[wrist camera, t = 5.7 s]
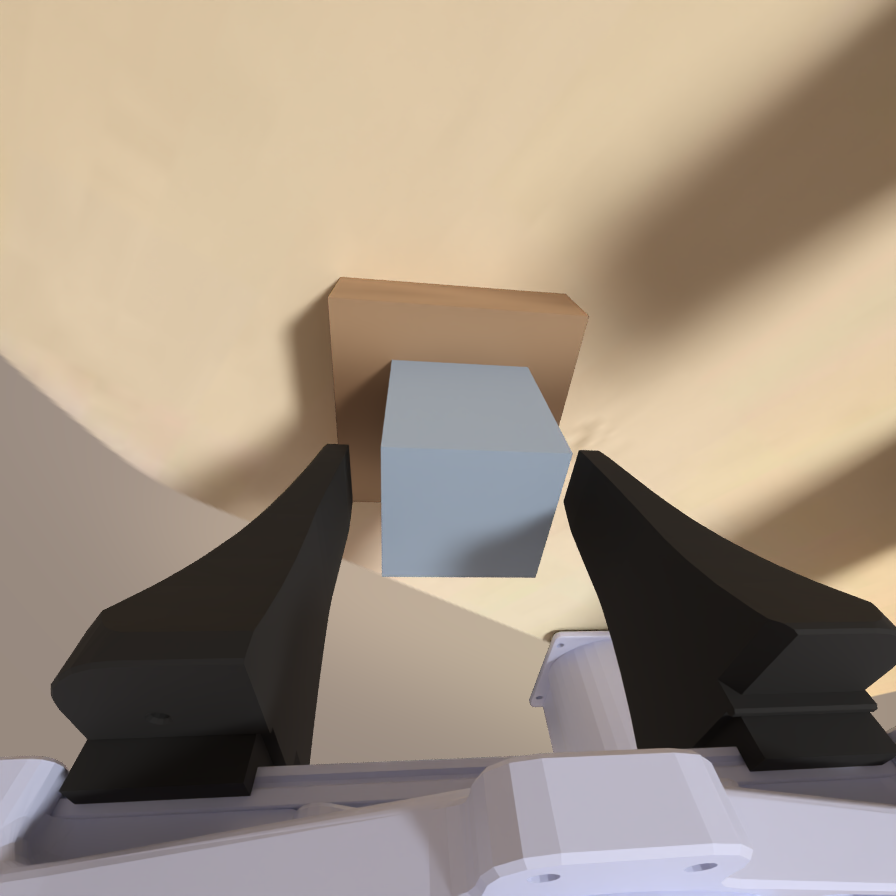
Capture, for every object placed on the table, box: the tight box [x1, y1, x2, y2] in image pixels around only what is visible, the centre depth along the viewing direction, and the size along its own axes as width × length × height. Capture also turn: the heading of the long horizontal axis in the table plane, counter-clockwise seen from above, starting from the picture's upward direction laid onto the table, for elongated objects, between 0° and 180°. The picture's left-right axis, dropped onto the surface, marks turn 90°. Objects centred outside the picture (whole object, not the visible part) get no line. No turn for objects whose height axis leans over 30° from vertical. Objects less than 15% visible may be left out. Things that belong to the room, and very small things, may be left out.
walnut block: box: [328, 277, 589, 502], centre depth 16 cm, size 8×8×3 cm
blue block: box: [381, 360, 573, 578], centre depth 13 cm, size 4×4×5 cm
